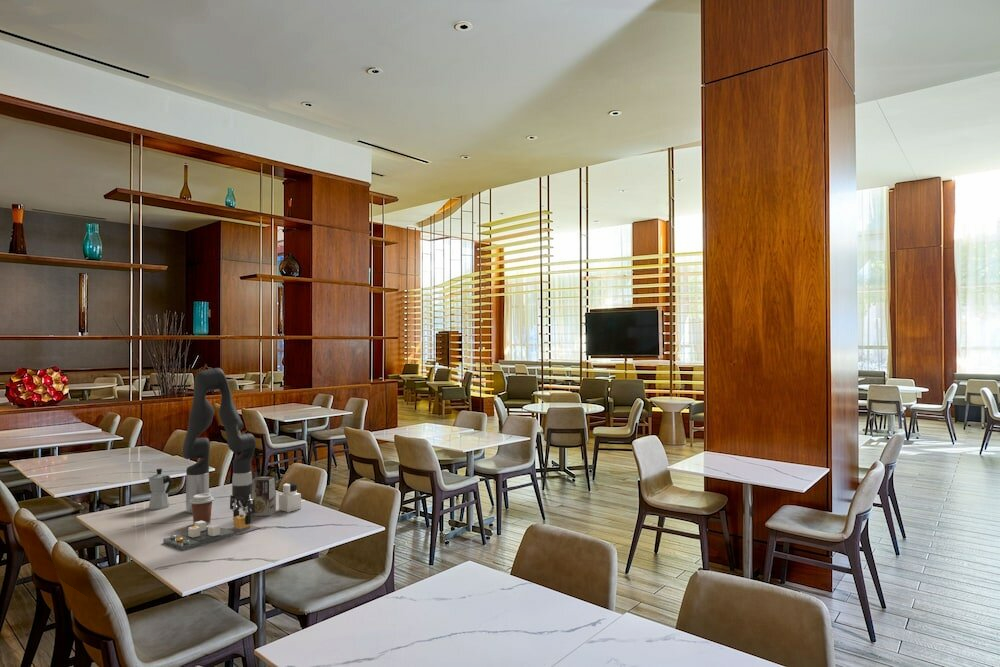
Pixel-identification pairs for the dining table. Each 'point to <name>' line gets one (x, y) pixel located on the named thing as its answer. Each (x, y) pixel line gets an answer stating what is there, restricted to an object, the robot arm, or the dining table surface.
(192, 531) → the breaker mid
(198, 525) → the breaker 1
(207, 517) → the coffee cup
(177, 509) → the dining table surface
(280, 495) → the medicine bottle
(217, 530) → the breaker
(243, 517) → the lockout cap
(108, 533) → the dining table surface
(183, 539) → the dark grey flat slab
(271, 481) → the coffee box
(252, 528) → the lockout mat
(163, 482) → the coffee maker
